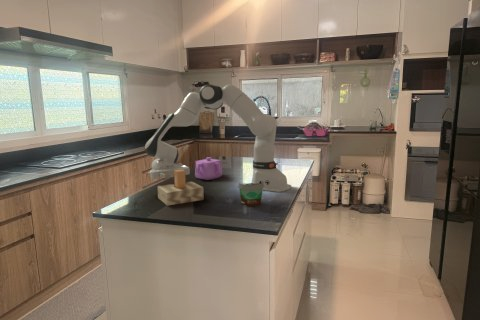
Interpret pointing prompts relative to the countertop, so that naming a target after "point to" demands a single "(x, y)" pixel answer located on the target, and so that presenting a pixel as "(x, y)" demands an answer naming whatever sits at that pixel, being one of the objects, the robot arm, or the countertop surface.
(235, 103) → the robot arm
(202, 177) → the teakettle
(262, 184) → the food container
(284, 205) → the countertop surface
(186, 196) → the socket
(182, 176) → the plug
